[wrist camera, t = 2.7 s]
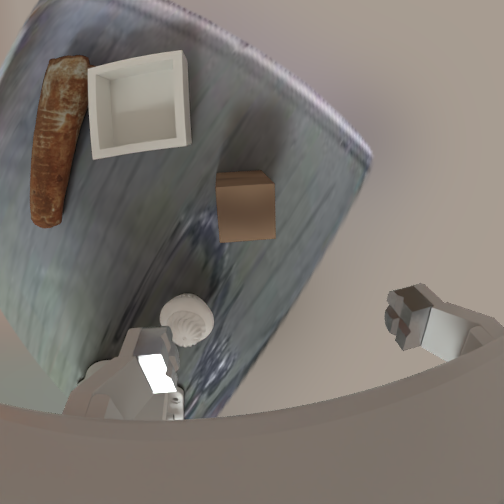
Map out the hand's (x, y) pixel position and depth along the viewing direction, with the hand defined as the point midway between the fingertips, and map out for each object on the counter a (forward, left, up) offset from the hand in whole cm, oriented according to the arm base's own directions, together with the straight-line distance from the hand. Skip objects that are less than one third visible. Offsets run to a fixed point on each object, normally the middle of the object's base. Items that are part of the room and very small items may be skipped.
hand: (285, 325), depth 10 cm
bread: (+8, +19, -23) cm, 31 cm away
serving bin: (+10, +9, -23) cm, 26 cm away
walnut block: (0, 0, -23) cm, 23 cm away
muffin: (-13, +7, -23) cm, 27 cm away
